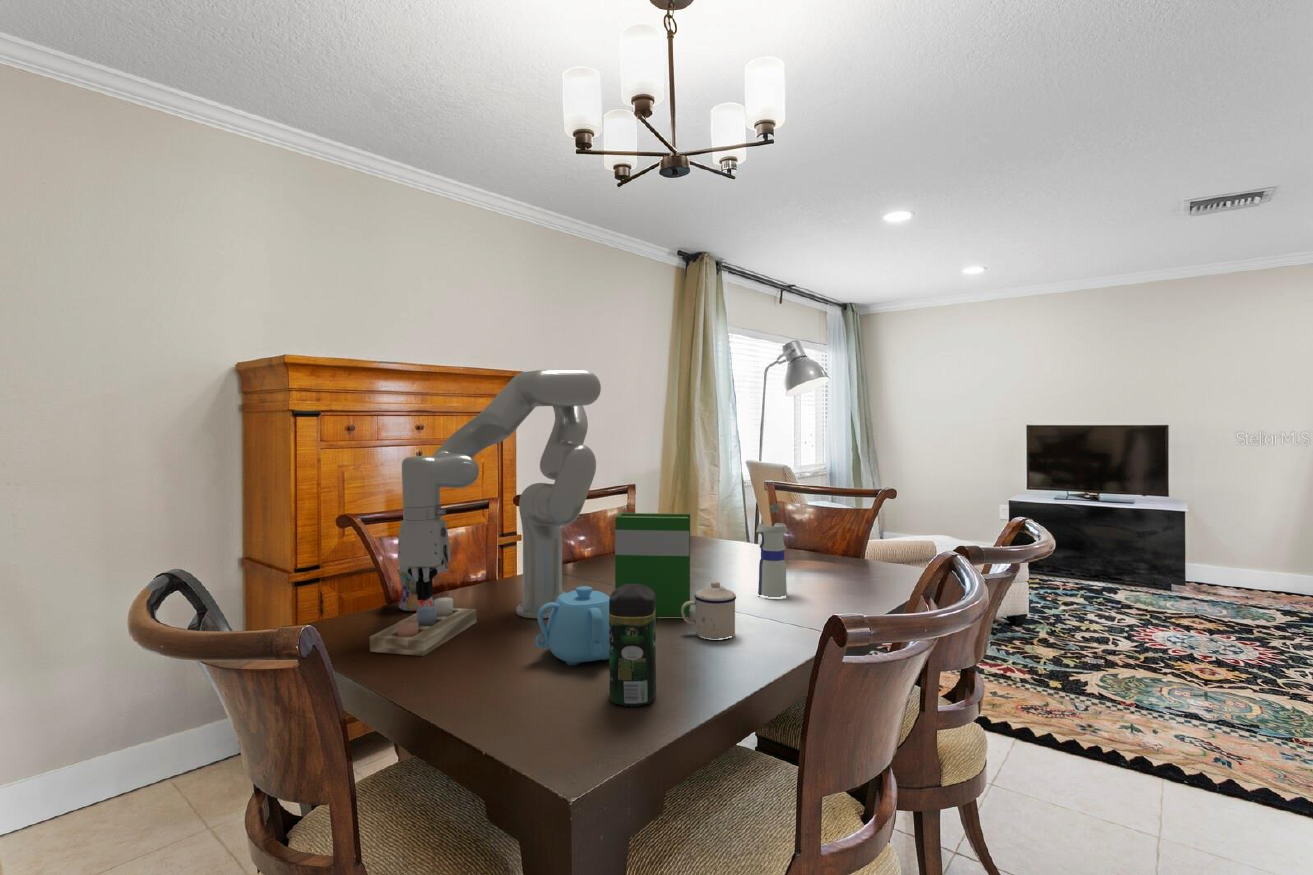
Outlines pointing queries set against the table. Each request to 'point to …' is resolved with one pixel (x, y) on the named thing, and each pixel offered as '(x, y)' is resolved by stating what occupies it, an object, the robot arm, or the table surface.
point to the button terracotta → (408, 628)
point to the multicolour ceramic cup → (410, 593)
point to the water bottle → (772, 559)
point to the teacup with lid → (713, 612)
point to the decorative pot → (577, 626)
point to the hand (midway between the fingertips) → (424, 598)
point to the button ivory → (444, 606)
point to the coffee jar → (632, 645)
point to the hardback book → (655, 557)
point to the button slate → (426, 616)
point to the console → (423, 634)
